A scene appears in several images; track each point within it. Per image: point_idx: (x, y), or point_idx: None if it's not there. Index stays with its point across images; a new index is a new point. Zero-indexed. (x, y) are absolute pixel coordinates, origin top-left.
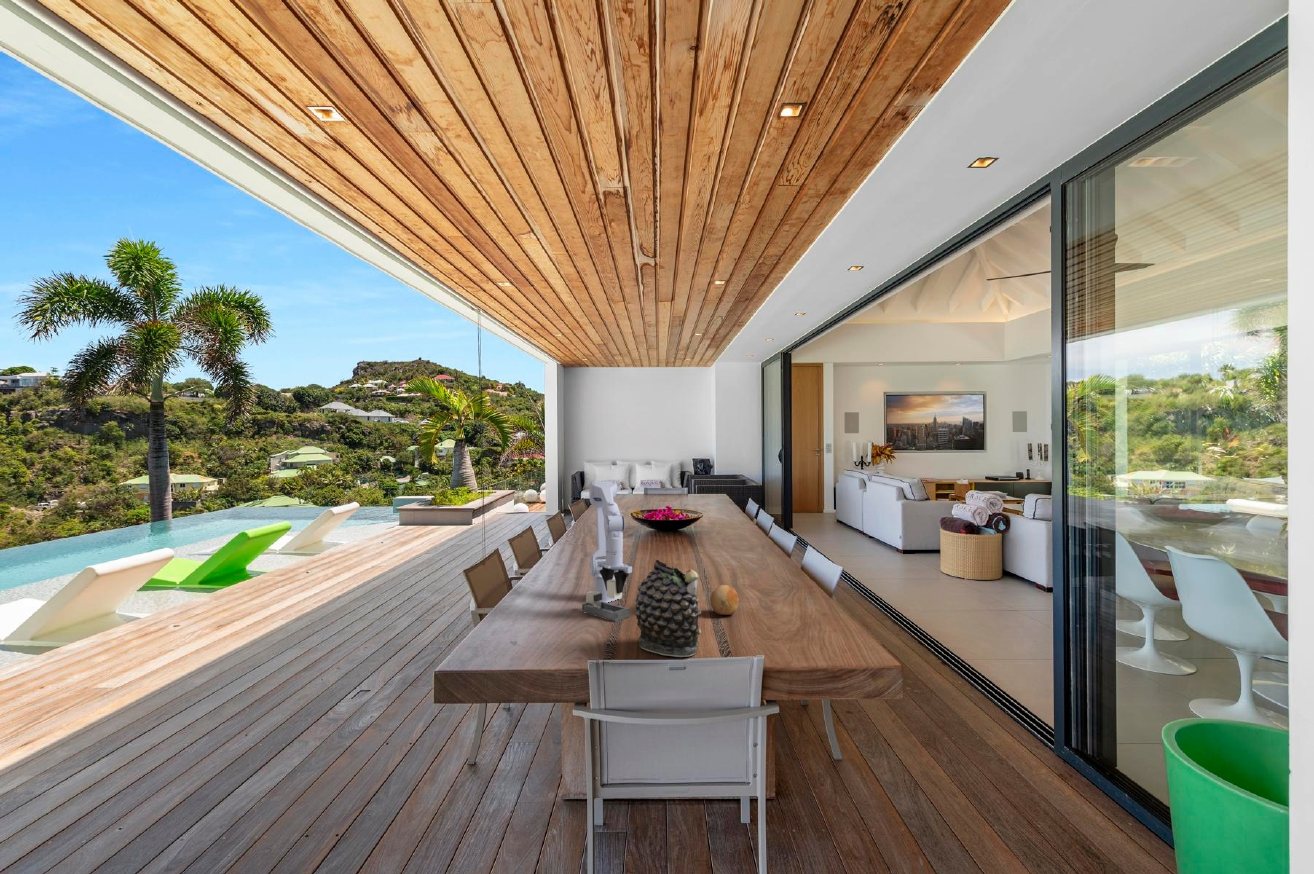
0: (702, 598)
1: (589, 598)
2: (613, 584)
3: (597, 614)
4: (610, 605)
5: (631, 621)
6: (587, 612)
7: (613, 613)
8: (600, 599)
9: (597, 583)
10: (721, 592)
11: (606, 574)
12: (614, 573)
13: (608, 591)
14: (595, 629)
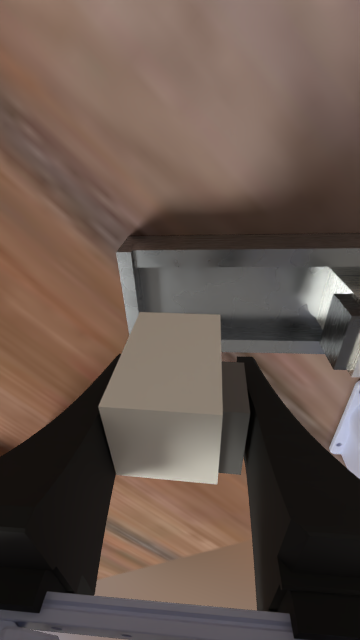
0: (130, 525)
1: None
2: (123, 388)
3: (267, 237)
4: (257, 338)
5: (84, 288)
6: (353, 235)
7: (134, 248)
8: (324, 334)
9: None
10: None
11: (269, 497)
12: (4, 518)
13: (201, 339)
14: (89, 25)
